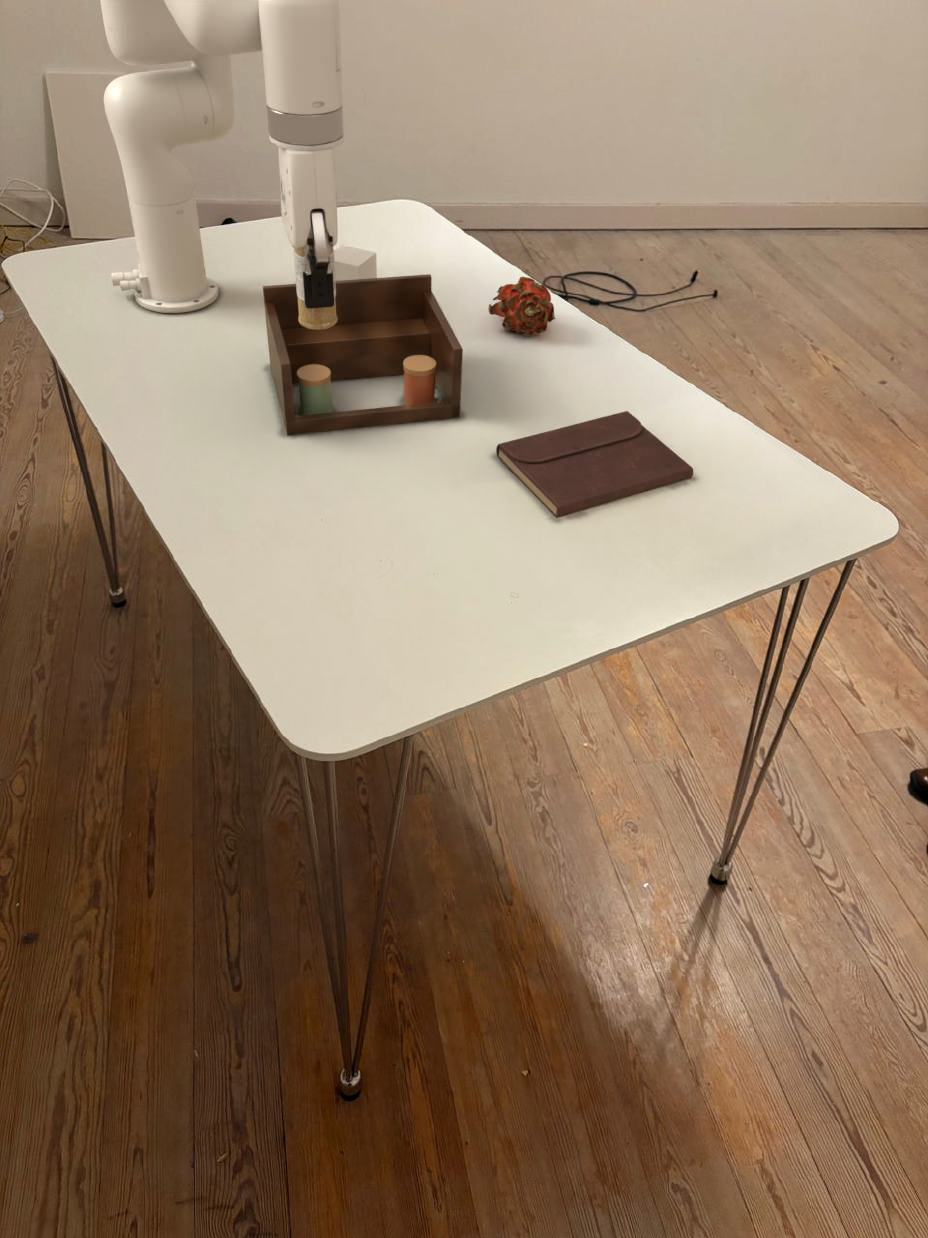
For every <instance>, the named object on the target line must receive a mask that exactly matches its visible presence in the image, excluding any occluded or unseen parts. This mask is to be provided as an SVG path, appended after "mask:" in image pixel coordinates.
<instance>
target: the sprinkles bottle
mask: <svg viewBox="0 0 928 1238" xmlns="http://www.w3.org/2000/svg"><path fill="white" fill-rule="evenodd" d="M310 220H311V219H310ZM307 243H314V242H313V238H312V239H307ZM334 251H335V250H334V246H333V247H331V245H330V253H331V266H332V271H333V286H334V306H332V307H323V308H310V309H308V308H306V306H305V298H304V284H303V272H305V261H304V250H303V247H299V248H298V249H294V248H293V262H294V263H293V264H294V274H295V275H294V276H295V284H296V290H297V296H298V308H299V317H298V320H299V323H300V324H301V325H302V326H304V327H306V328H309V329H315V330H316V329H317V330H321V329H327V328H330V327H332V326H333V325H335V324H336V323H337V319H338V317H337V315H336V299H335V296H336V282H335V261H334ZM314 253H315V251H310V259H311V256H313V255H314Z"/></svg>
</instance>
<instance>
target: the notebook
mask: <svg viewBox="0 0 928 1238" xmlns="http://www.w3.org/2000/svg"><path fill="white" fill-rule="evenodd" d="M495 450H496V451H495V452H496V457H497V459H498V460H500V462H502V464H504V465H505V467H507V469H508V470H509V471H510V472H511V473H512V474H513V475H514V476H515V477H516V478H517V479H518V481H520V482H521V483H522V485H523V486H525V487H526V488H527V489H528V490H529V491H530V493H532V494H533V496H534V497H535V498H536V499H537V500H538V501H539V502H540V503H541V504H542V505H543V506H544V507H545V508H546V509H547V510H548V512H550V513H551V515H552V516H554V517H555V518H556V519H558V518H563V517H565V516H569V515H572V514H576V513H579V512H582V511H586V510H589V509H592V508H596V507H600V506H602V505H606V504H609V503H612V502H617V501H619V500H623V499H626V498H630V497H634V496H637V495H639V494H643V493H646V492H649V491H655V490H656V489H660V488H664V487H667V486H669V485H673V484H678V483H680V482H683V481H687V480H691V479H692V478H693V477H694V468H693V467H692V466H691V465H690V464H689V463H687V462H686V460H684V459H683V458H682V457H680V456H679V455H678V453H676V452H675V451H673V450H672V449H671V448H670V447H669V446H668V445H666V444H665V443H664V442H663V441H662V440H661V439H660V438H658V437H657V436H656V435H655V434H654V433H652V432H651V431H650V430H648V429H647V428H646V427H645V426H644V425H643V424H642V423H641V421H640V420H639V419H638V418H637V417H636V416H635V415H633V414H632V413H631V412H630V411H628V410H625V411H622V412H621V411H620V412H618V413H613V414H609V415H606V416H602V417H598V418H594V419H590V420H586V421H582V422H578V423H574V424H571V425H568V426H562V427H559V428H556V429H551V430H547V431H544V432H539V433H536V434H532V435H528V436H524V437H519V438H516V439H513V440H509V441H505V442H501V443H497V445H496V448H495Z"/></svg>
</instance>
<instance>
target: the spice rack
mask: <svg viewBox="0 0 928 1238" xmlns="http://www.w3.org/2000/svg"><path fill="white" fill-rule="evenodd" d="M432 280H433V279H432V274H430V273H427V274H413V275H401V276H400V275H399V276H384V277H377V278H370V279H356V280H342V281H335V282H336V296H335V299H336V315H337V317H338V319H337V323H336V324H335V325H333V326H332V327H330V328H327V329H321V330H317V329H316V330H315V329H309V328H306V327H304V326H302V325H301V324H300V323H299V320H298V317H299V308H298V296H297V290H296V283H287V284H274V285H263V286H262V294H263V304H264V313H265V314H264V316H265V322H266V323H265V325H266V335H267V346H268V356H269V366H270V371H271V375H272V378H273V383H274V388H275V392H276V396H277V400H278V404H279V408H280V412H281V416H282V420H283V423H284V429H285V433H286V436H292V435H301V434H311V433H312V434H313V433H322V432H331V431H340V430H341V431H342V430H349V429H351V430H352V429H359V428H360V429H361V428H370V427H379V426H388V425H399V424H409V423H417V422H419V423H420V422H428V421H436V420H447V419H457V418H460V417H461V399H462V397H461V396H462V376H463V375H462V373H463V356H464V355H463V352H464V351H463V349H464V348H463V347H462V344H461V343H460V341H459V339H458V337H457V335H456V334H455V332H454V330H453V328H452V326H451V324H450V322H449V320H448V319H447V316H446V315H445V313H444V311H443V309H442V308H441V305H440V303H439V302H438V300H437V298H436V296H435V295H434V293H433V291H432V282H433V281H432ZM413 355H425V356H429V357H431V358H433V359H434V360H435V361H436V371H435V388H436V389H437V391H438V393H439V395H440V397H441V399H442V401H435V402H432V403H422V404H412V405H404V404H402V405H394V406H383V407H382V406H381V407H373V408H363V409H353V410H343V411H341V410H340V411H332V412H331V413H321V414H311V415H301V414H300V415H296V412H295V401H294V389H293V385H298V380H297V371H298V369H299V368H301V367H303V366H305V365H311V364H318V365H323V366H326V367H328V368H329V369H330V371H331V382H334V381H344V380H345V381H346V380H357V379H365V378H367V379H368V378H376V377H377V378H378V377H388V376H389V377H390V376H400V375H404V369H403V361H404V360H405V359H406V358H407V357H410V356H413Z"/></svg>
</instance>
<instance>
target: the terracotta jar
mask: <svg viewBox="0 0 928 1238" xmlns="http://www.w3.org/2000/svg"><path fill="white" fill-rule="evenodd" d="M403 369H404V374H403V405H412V404H422V403H432V402H436V384H435V371H436V361H435V360H434V359H433V358H431V357H429V356H425V355H413V356H410V357H407V358H406V359H405V360H404V361H403Z"/></svg>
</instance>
